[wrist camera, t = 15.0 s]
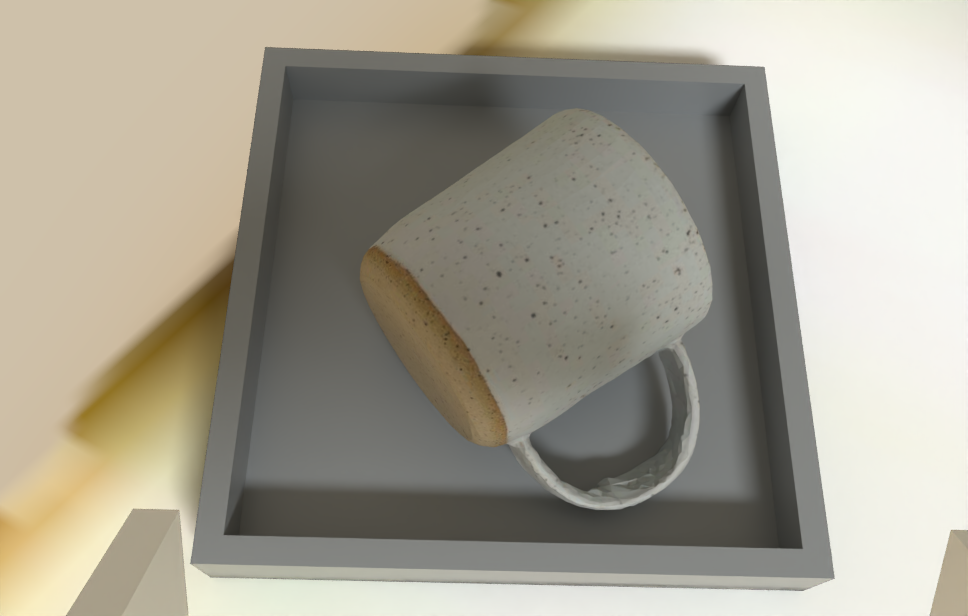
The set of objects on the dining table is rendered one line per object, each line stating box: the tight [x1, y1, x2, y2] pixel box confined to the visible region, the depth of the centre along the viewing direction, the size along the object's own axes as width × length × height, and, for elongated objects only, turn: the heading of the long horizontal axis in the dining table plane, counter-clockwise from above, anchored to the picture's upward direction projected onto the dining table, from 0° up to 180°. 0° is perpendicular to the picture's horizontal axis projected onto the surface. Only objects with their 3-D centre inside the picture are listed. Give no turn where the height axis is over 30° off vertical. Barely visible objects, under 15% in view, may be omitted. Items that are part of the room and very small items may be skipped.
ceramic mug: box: [360, 108, 712, 510], centre depth 27 cm, size 11×8×8 cm
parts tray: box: [190, 47, 835, 591], centre depth 31 cm, size 18×18×2 cm
